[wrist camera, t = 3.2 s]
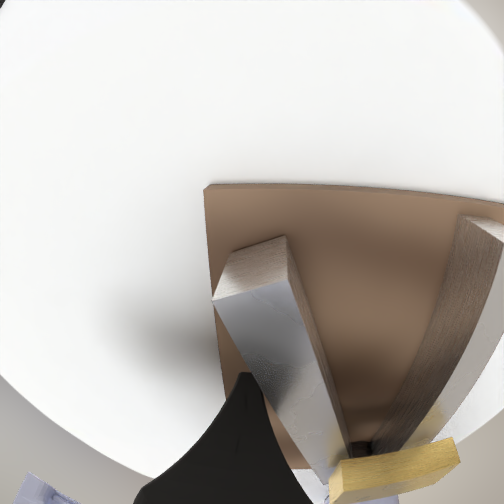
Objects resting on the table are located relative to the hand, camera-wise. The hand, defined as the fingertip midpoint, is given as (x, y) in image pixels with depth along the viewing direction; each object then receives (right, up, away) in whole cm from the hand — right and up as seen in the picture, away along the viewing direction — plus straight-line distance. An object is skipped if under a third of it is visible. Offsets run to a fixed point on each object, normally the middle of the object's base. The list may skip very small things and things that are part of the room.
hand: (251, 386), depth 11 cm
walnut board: (+7, -2, +2) cm, 7 cm away
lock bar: (+7, -5, -1) cm, 9 cm away
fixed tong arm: (+8, -1, +1) cm, 8 cm away
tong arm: (+3, 0, +1) cm, 3 cm away
